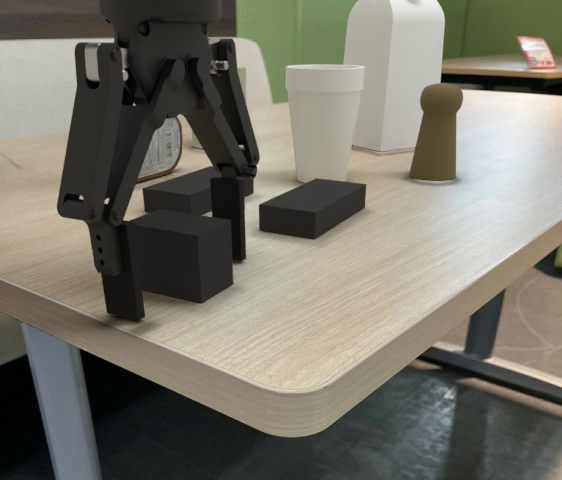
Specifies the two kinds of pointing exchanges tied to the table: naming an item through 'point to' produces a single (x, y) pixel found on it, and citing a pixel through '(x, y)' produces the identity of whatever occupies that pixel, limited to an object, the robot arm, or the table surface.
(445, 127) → the olive knobbed tapered post
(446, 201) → the table surface
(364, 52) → the milk
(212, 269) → the black rectangular block
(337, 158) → the foam cup
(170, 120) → the tin
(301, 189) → the pad pair
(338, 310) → the table surface
